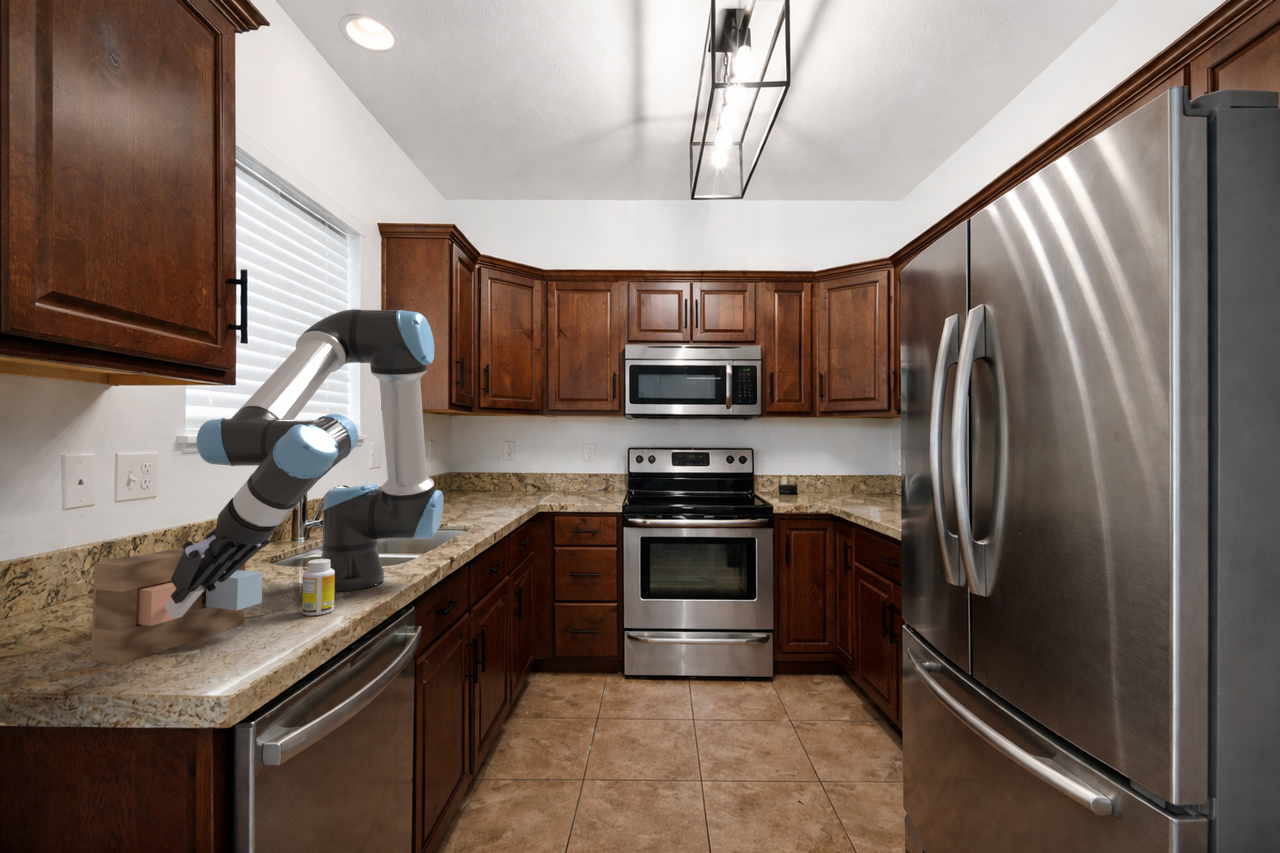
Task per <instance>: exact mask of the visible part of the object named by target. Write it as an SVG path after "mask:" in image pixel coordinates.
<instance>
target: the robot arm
mask: <svg viewBox="0 0 1280 853" xmlns="http://www.w3.org/2000/svg"><path fill="white" fill-rule="evenodd" d="M435 350H436V348H435V340H434V336H433V332H432V329H431V326H430V323H429V322H428V319H427V318H426V317H425V316H424V315H423V314H422V313H420V312H417V311H411V310H410V311H409V310H402V309H396V310H391V309H387V310H385V309H384V310H383V309H380V310H379V309H359V308H358V309H357V308H353V309H346V310H342V311H338V312H335V313H333V314H331V315H328V316H325V317H323V318H322V319H319V321H316V322H315V323H313V324H312V325H311V326H309V327H308V328H307V329H306V330H305V331H304V332H303V333H302V334H301V335H299V337H298V338H297V340H296V343H295V350H293V352H292V353H291V354H290V355H289V356H288V357H287V358H286V359H285V360H284V362H282V363H281V365H280V366H278V368H277V369H276V370H275V371H274V372H273V373H272V374H271V375H270V376H269V377H268V378H267V379H266V381H265V382H264V383H263V384H262V385H261V386H259V388H258V389H257V390H256V391H255V392H254V393H253V395H251V396H250V398H249V399H248V400H247V401H246V402H245V403H244V404H243V405H242V406H241V407H240V408H239V409H238V411H237V412H235V414H234V415H233V416H232V417H231V418H226V417H222V418H217V419H210V420H207V421H205V422H204V423H202V425H201V426H200V428H199V429H198V432H197V435H196V449H197V451H198V452H199V457H201V458H202V460H203V461H205V462H206V463H208V464H210V465H218V466H219V465H221V466H231V467H237V466H238V467H241V466H242V467H243V466H244V467H246V466H249V467H250V466H252V467H253V466H255V467H256V466H257V467H256V469H255V470H254V471H253V472H252V474H251V475H250V476H249V478H248V479H247V480H246V481H245V482H244V484H242V486H241V487H240V488H239V489H238V491H237V492H236V493H235V494H234V496H233V497H232V498H230V500H229V501H228V502H227V503H226V505H225V506H224V507H222V510H220V511H219V513H218V516H217V518H216V519H217V520H216V527H215V528H213V529H212V530H211V531H209V533H207V534H206V535H205V537H204V539H203V540H201V541H198V542H196V543H194V542H193V541H191V540H190V541H186V542H184V543H183V544H182V545H181V546H182V547H181V548H183V551H184V552H183V554H182V556H181V558H180V560H179V562H178V565H177V567H176V569H175V571H174V573H173V575H172V577H171V581H172V583H173V584H174V586H175V587H176V590H175V591H174V592H173V593H172V595H171V598H170V599H169V600H168V601H167V602H166V604H165V605H164V607H165V609H166V611H167V612H168V614H169V615H170V617H171V618H172V619H175V618H178V617H182V616H183V615H184V614H185V612H186V611H187V610H188V609H189V608H190V606H191V605H192V604H193V603H194V602H195V601H196V599H197V598H198V597H199V596H201V595H202V593H203V592H204V591H205V590H206V589H207V590H208V592H210V591H213V590H214V589H216V587H215V585H214V584H215V582H216V581H219V582H220V583H221V582H224V581H225V580H227V579H228V578H229V577H230V576H231V575H232V574H233V573H234V572H235V571H237V570H238V569H239V568H240V567H241V566H242V565H243V564H244V563H245V564H246V563H247V562H248V561H249V560H250V559H251V558H252V557H253V556H254V555H256V554H257V553H258V552H259V551H260V550H262V549H263V548H265V547H266V546H267V545H269V544H270V543H272V540H271V538H270V537H272V535H273V534H274V532H276V530H277V529H278V528H279V526H280V525H281V524H282V523H283V522H284V521H285V520H286V518H288V517H289V515H290V514H291V513H292V512H293V510H294V509H296V507H297V505H299V503H300V501H301V500H302V499H303V498H304V497H305V495H306V494H307V493H308V492H309V491H310V490H311V489H312V488H313V487H314V486H315V485H316V483H317V482H318V481H319V480H320V479H321V478H323V477H324V476H325V475H327V473H329V471H331V469H333V467H336V465H338V464H339V463H340V462H341V461H342V460H344V459H346V458H348V457H349V456H350V454H351V452H352V451H353V450H354V449H355V447H356V446H357V444H358V441H359V432H358V429H357V427H356V424H355V423H354V422H353V421H352V420H351V419H350V418H348V417H346V415H345V416H344V415H342V414H339V413H329V414H326V415H321V416H320V417H318V418H316V419H313V420H310V419H309V420H307V419H306V420H305V419H303V420H302V419H296V418H297V417H298V415H299V414H300V412H301V411H302V410H303V409H304V407H305V406H306V405H307V403H308V402H309V401H310V400H311V398H312V397H313V396H314V395H315V393H316V391H318V389H319V388H320V387H321V386H322V385H323V383H324V381H325V380H327V378H328V377H329V375H330V374H331V373H334V372H337V371H339V370H340V369H341V368H342V367H343V366H344V365H347V364H353V363H356V364H357V363H358V364H359V363H360V364H369V366H370V373H371V374H372V375H373V376H374V377H376V379H378V381H379V393H380V402H381V404H380V406H381V416H382V427H383V439H384V448H385V449H384V450H385V459H386V460H385V461H386V472H387V473H386V475H387V480H386V481H385V483H382V485H381V489H380V487H379V485H378V484H376V483H375V484H374V483H373V484H364V485H356V486H348V487H343V488H335V489H332V490H331V489H330V490H329V491H327V492H326V493H325V495H324V498H323V506H322V515H323V516H322V549H321V550H322V553H321V556H320V558H319V559H329V560H330V565H331V566H330V568H331V569H333V570H334V571H335V586H334V592H347V591H349V592H350V591H357V590H356V589H358V590H362V589H361V588H364V589H366V588H365V587H368V588H370V587H369V586H372V585H375V584H378V583H380V582H382V581H383V580H384V581H385V570H384V568H383V567H382V566H383V565H382V562H381V557H380V555H379V551H378V540H413V541H416V540H421V539H422V540H423V539H424V540H425V539H427V540H428V539H430V538H433V537H434V536H435V535H436V533H437V532H438V529H439V527H440V524H441V521H442V516H443V511H444V495H443V494H444V493H443V492H442V490H439V489H436V490H435V483H434V480H433V479H432V478H430V477H429V476H428V475H427V474H428V472H427V460H426V444H425V443H426V442H425V429H424V415H423V404H422V403H423V399H422V388H421V387H422V386H421V385H422V384H421V378H422V377H423V376H424V375H425V374H426V373H427V372H428V371H427V369H428V368H427V367H428V365H431V364H432V363H433V361H434V359H435ZM225 571H226V572H225ZM224 572H225V573H224ZM384 581H383V582H384ZM383 582H382V583H383ZM378 585H379V584H378ZM372 587H373V586H372Z"/></svg>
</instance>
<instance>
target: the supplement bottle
mask: <svg viewBox="0 0 1280 853" xmlns="http://www.w3.org/2000/svg"><path fill="white" fill-rule="evenodd" d="M330 566H331V565H330V560H329V559H320V558H317V559H316V558H315V559H311V560H309V561H308V562H307V568H306V569H307V570H305V571H304V572H303V574H302V594H301V596H302V597H301V598H302V600H301V601H302V602H301V603H302V606H301V608H302V610H301V611H302V614H303V615H305V616H310V617H313V616H315V615H316V616H322V614H323V615H326V613H327V614H329V613H331V612H333V610H334V609H335V591H334V586H335V571H334V570H333V569H331V568H330ZM316 616H315V617H316Z"/></svg>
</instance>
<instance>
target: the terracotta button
mask: <svg viewBox="0 0 1280 853" xmlns="http://www.w3.org/2000/svg"><path fill="white" fill-rule="evenodd" d="M175 590H176V587H175V586H174V584H173V583H172V582H164V583H160V584H155V585H151V586H146V587H141V588H137V617H136V624H141V625H149V626H152V625H155V624H159V623H162V622H166V621H170V620H173V619H172V618H171V617H170V615H169V614H168V612H167V611H166V609H165V607H164V605H165V604H166V602H167V601H168V600H169V599H170V598H171V595H172V593H173V592H174V591H175ZM178 618H180V617H178ZM175 619H177V618H175Z"/></svg>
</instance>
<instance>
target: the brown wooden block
mask: <svg viewBox="0 0 1280 853" xmlns="http://www.w3.org/2000/svg"><path fill="white" fill-rule="evenodd" d="M183 552H184V551H183V547H180V548H173V549H167V550H161V551H156V552H150V553H143V554H139V555H132V556H127V557H120V558H115V559H108V560H104V561H103V560H102V561H98V562H97V561H96V562H94V565H93V566H94V567H93V591H92V592H93V594H92V622H91V647H90V648H91V652H90V661H91V662H92V661H93V662H96V663H104V664H111V665H116V666H121V665H123V664H126V663H129V662H132V661H135V660H138V659H142V658H144V657H149V656H152V655H154V654H156V653H160V652H163V651H166V650H168V649H172V648H175V647H179V646H181V645H184V644H187V643H191V642H194V641H196V640H200V639H203V638H206V637H209V636H212V635H214V634H218V633H222V632H224V631H227V630H230V629H234V628H236V627H240V626H242V625H244V623H245V622H244V621H245V620H244V618H245V616H244V615H245V608H243V609H240V610H230V609H222V608H213V607H206V590H205V591H204V592H203V593H202V595H201V596H199V597H198V598H197V599H196V601H195V602H194V603H193V604H192V605H191V606H190V608H189V609H188V610H187V611H186V612H185V614H184V615H183V616H182V617H180V618H177V619H173V620H170V621H166V622H162V623H159V624H155V625H152V626H149V625H141V624H136V617H137V588H141V587H146V586H151V585H155V584H160V583H164V582H172V581H171V577H172V575H173V573H174V571H175V569H176V567H177V565H178V562H179V560H180V558H181V556H182V554H183ZM238 570H243V571H246V562H245V563H244V564H243V565H242V566H241V567H240V568H239V569H238ZM159 651H160V652H159ZM153 653H154V654H153Z"/></svg>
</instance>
